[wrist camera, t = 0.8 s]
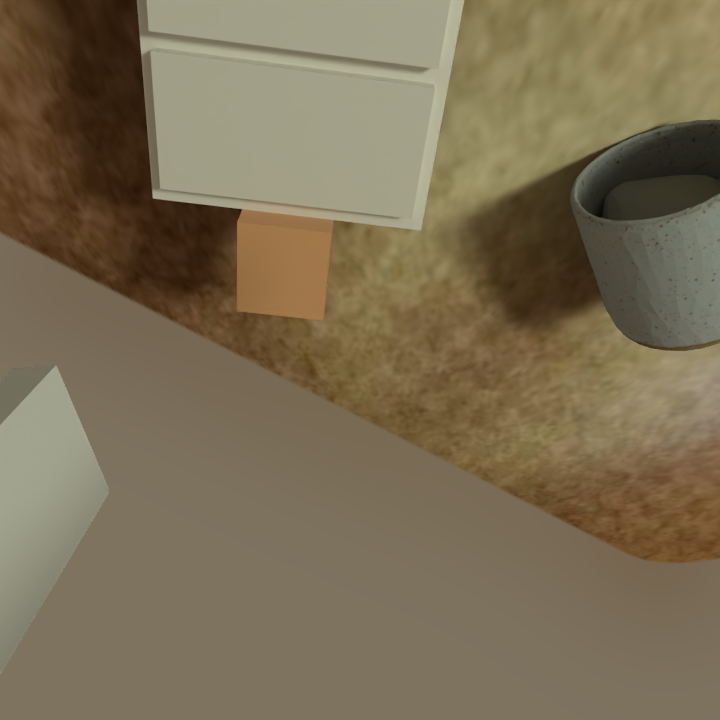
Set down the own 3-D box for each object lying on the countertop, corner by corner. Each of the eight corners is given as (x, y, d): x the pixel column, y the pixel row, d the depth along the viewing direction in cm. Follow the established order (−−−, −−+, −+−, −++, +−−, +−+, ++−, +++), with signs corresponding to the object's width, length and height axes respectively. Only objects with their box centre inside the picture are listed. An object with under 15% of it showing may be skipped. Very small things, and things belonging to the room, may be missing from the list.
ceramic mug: (595, 301, 35) (644, 389, 29) (549, 172, 31) (596, 242, 25) (803, 219, 32) (907, 297, 26) (784, 63, 28) (904, 112, 22)
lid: (130, -187, 19) (107, -194, 17) (485, -134, 19) (495, -137, 18) (165, 277, 28) (152, 301, 26) (404, 304, 29) (406, 329, 27)
